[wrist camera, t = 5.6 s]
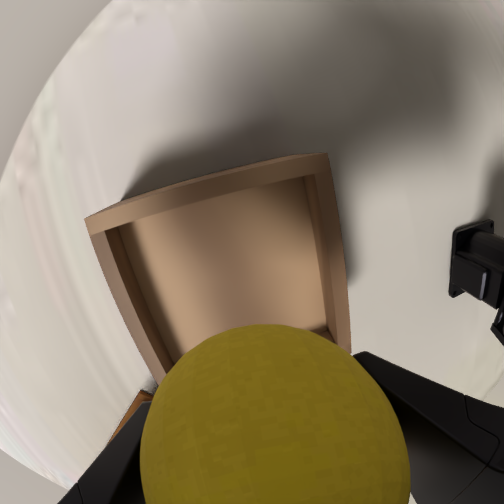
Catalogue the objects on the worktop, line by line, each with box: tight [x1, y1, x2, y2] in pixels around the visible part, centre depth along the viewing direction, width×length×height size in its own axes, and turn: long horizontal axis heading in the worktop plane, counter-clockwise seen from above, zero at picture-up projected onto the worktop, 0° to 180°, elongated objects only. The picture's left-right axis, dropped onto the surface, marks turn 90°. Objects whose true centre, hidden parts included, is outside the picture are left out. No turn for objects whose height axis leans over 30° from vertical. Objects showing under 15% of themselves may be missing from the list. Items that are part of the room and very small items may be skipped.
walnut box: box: [84, 153, 351, 386], centre depth 16 cm, size 11×11×6 cm
